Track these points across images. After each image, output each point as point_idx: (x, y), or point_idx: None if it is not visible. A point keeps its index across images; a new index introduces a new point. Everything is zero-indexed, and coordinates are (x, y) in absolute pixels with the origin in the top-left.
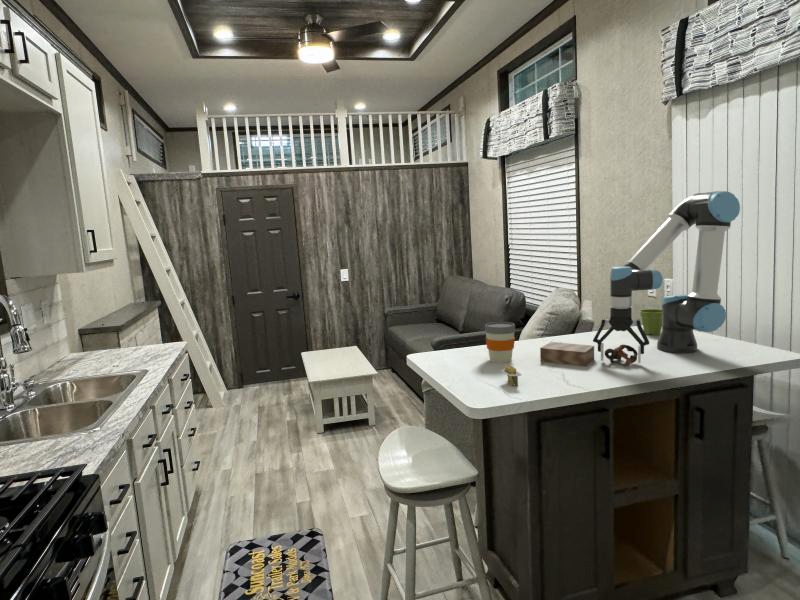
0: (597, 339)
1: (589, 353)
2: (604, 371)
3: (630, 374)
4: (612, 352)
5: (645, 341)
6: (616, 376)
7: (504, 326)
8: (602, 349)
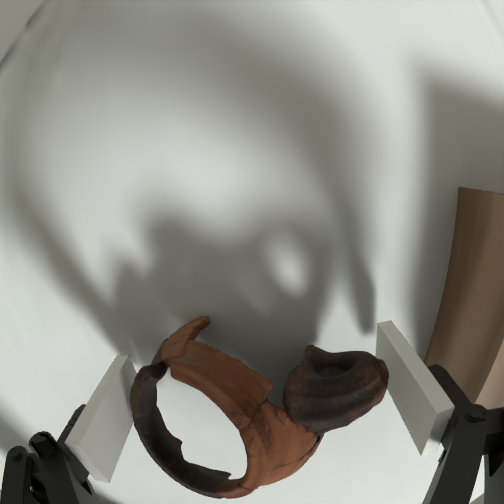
0: (490, 444)
1: (485, 315)
2: (313, 91)
3: (116, 100)
4: (320, 381)
5: (19, 469)
6: (196, 7)
7: None
8: (417, 378)
